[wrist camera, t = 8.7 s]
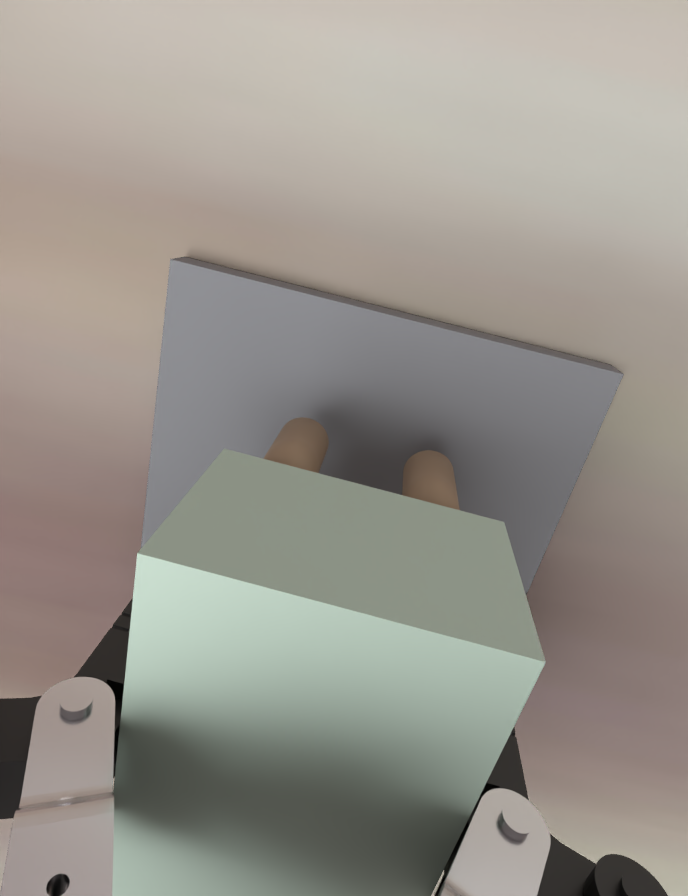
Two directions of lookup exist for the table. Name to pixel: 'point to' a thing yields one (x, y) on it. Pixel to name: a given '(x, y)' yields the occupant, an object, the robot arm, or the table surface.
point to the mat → (369, 398)
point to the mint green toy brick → (314, 680)
